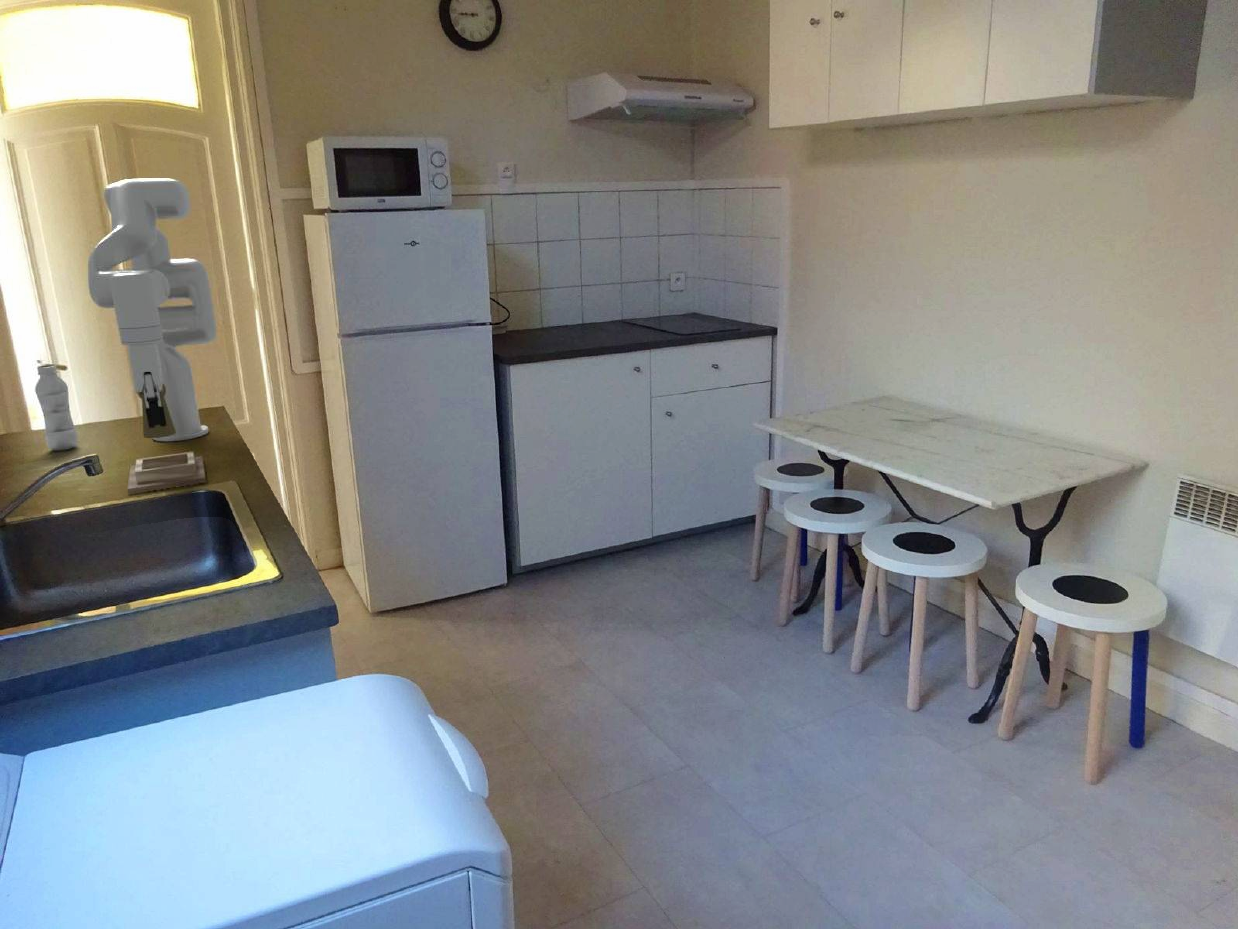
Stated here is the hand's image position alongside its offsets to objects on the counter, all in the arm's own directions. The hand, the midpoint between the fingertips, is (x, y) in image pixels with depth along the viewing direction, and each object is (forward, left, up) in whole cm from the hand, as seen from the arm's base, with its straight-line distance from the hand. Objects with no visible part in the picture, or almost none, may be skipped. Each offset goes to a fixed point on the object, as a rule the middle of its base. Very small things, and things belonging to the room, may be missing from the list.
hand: (157, 423), depth 179 cm
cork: (0, 0, -2) cm, 2 cm away
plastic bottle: (-39, -22, -12) cm, 46 cm away
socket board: (0, 0, -12) cm, 12 cm away
